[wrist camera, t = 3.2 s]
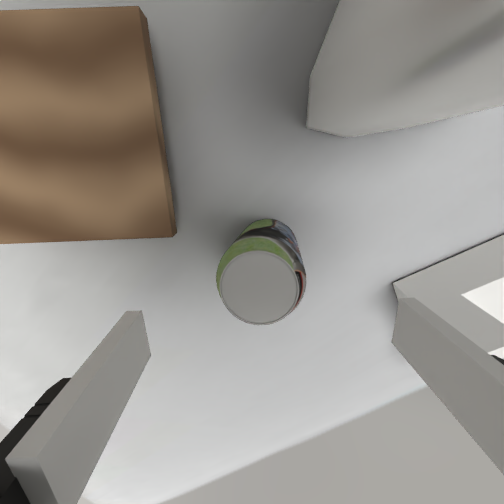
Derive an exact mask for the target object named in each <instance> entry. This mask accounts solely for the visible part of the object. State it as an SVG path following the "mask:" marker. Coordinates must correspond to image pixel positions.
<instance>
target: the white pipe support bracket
mask: <svg viewBox="0 0 504 504" xmlns="http://www.w3.org/2000/svg"><path fill="white" fill-rule="evenodd" d="M393 286H394V289H395V293H396V296H397V299H398V302H399V298H416V299H417V300H418V301H420V302H421V303H422V304H424V305H425V306H426V307H428V308H429V309H430V310H431V311H433V312H434V313H435V314H437V315H438V316H439V317H441V318H442V319H443V320H445V321H446V322H447V323H449V324H450V325H451V326H453V327H454V328H455V329H457V330H458V331H459V332H461V333H462V334H463V335H464V336H466V337H467V338H468V339H470V340H471V341H472V342H474V343H475V344H476V345H478V346H479V347H480V348H482V349H483V350H484V351H486V352H487V353H488V354H490V355H495V356H497V357H499V358H501V359H503V358H504V235H502V236H500V237H497V238H495V239H493V240H491V241H488V242H486V243H484V244H481V245H479V246H477V247H474V248H472V249H470V250H468V251H465V252H463V253H461V254H458V255H456V256H454V257H452V258H449V259H447V260H445V261H442V262H440V263H438V264H436V265H433V266H431V267H429V268H426V269H424V270H422V271H419V272H417V273H415V274H413V275H410V276H408V277H406V278H403V279H401V280H399V281H397V282H394V283H393Z"/></svg>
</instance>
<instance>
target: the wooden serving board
mask: <svg viewBox="0 0 504 504" xmlns="http://www.w3.org/2000/svg"><path fill="white" fill-rule="evenodd" d="M176 233H177V229H176V222H175V214H174V207H173V200H172V193H171V186H170V179H169V172H168V165H167V158H166V151H165V144H164V136H163V129H162V122H161V115H160V108H159V101H158V94H157V87H156V80H155V73H154V65H153V58H152V51H151V44H150V37H149V30H148V23H147V18H146V17H145V15H144V14H143V12H142V11H141V9H140V8H139V6H124V7H93V8H63V9H32V10H2V11H0V244H14V243H38V242H63V241H88V240H113V239H138V238H163V237H173V236H174V235H175V234H176Z"/></svg>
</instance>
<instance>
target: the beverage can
mask: <svg viewBox="0 0 504 504" xmlns="http://www.w3.org/2000/svg"><path fill="white" fill-rule="evenodd" d="M216 282H217V288H218V291H219V294H220V296H221V298H222V301H223V303H224V305H225V306H226V308H227V309H228V310H229V312H230V313H232V314H233V315H234V316H235V317H236V318H238V319H239V320H242V321H244V322H246V323H249V324H254V325H268V324H273V323H275V322H278V321H280V320H282V319H283V318H285V317H286V316H287V315H288V314H290V313H291V312H292V311H293V310H294V309H295V308H296V307H297V306H298V304H299V303H300V301H301V299H302V298H303V295H304V292H305V287H306V273H305V269H304V265H303V262H302V258H301V255H300V251H299V248H298V244H297V241H296V238H295V236H294V234H293V232H292V231H291V229H290V228H289V227H288V226H286V225H285V224H283V223H282V222H280V221H277V220H273V219H262V220H259V221H256V222H254V223H252V224H251V225H249V226H248V227H247V228H246V229H245V230H244V231H243V232H242V234H241V235H240V236H239V237H238V238H237V239H236V241H235V242H234V243H233V244H232V245H231V246H230V248H229V249H228V250H227V251H226V252H225V254H224V255H223V257H222V258H221V260H220V263H219V265H218V269H217V276H216Z"/></svg>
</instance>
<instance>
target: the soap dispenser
mask: <svg viewBox="0 0 504 504" xmlns="http://www.w3.org/2000/svg"><path fill="white" fill-rule="evenodd" d="M499 106H504V0H340V1H339V3H338V6H337V8H336V11H335V13H334V16H333V18H332V21H331V23H330V26H329V29H328V31H327V34H326V36H325V39H324V41H323V44H322V46H321V49H320V52H319V54H318V57H317V59H316V62H315V64H314V67H313V70H312V72H311V75H310V78H309V92H308V106H307V120H306V128H309V129H313V130H317V131H321V132H325V133H329V134H333V135H337V136H341V137H345V138H349V137H355V136H362V135H368V134H374V133H380V132H387V131H393V130H399V129H405V128H409V127H414V126H418V125H422V124H427V123H431V122H435V121H440V120H444V119H448V118H453V117H457V116H461V115H465V114H470V113H474V112H478V111H482V110H487V109H491V108H495V107H499Z"/></svg>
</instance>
